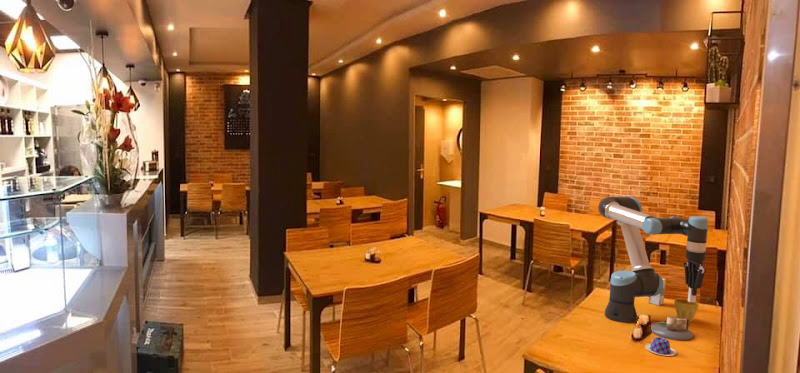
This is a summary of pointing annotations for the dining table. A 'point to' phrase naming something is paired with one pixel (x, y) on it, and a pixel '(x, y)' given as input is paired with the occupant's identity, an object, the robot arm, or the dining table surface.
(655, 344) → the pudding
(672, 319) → the tuning peg
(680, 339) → the flat grey disc
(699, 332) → the dining table surface
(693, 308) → the plant pot
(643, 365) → the dining table surface
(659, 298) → the syrup box
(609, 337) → the dining table surface
